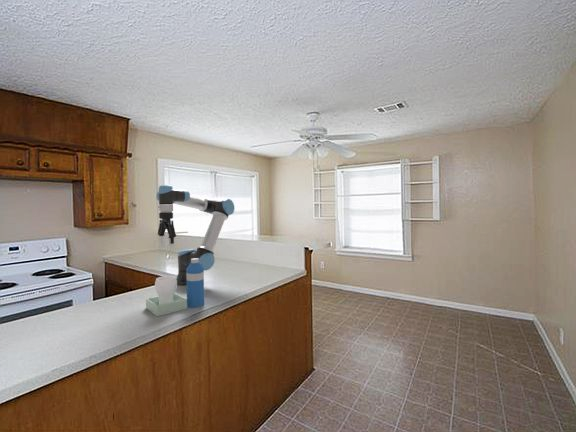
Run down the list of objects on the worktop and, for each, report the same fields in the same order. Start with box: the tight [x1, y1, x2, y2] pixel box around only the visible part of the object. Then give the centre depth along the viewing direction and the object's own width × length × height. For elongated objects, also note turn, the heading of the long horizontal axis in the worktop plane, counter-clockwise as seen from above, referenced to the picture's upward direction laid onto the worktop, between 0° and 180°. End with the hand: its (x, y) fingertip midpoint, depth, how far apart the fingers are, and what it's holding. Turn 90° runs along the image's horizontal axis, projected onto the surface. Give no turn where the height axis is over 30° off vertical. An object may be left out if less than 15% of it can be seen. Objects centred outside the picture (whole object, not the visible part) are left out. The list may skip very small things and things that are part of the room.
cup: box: [154, 275, 178, 305], centre depth 151 cm, size 11×11×15 cm
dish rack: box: [145, 292, 188, 317], centre depth 151 cm, size 15×15×5 cm
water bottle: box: [186, 258, 205, 309], centre depth 156 cm, size 9×9×25 cm
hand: (166, 248), depth 170 cm, fingers open, 13 cm apart
